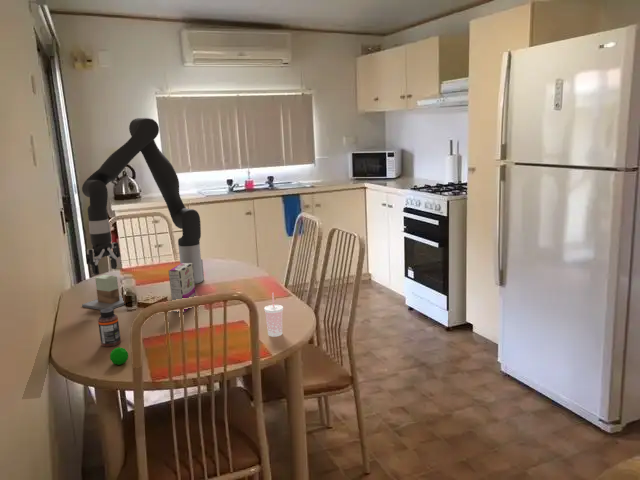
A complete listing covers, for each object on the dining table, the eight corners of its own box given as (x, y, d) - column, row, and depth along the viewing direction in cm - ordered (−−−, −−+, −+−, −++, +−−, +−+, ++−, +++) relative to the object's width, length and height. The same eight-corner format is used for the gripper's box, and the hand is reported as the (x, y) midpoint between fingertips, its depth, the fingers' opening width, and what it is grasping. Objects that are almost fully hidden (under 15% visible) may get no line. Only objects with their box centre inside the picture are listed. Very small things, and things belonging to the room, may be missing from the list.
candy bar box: (185, 303, 209) (181, 262, 206) (197, 303, 208) (193, 262, 205) (171, 312, 199) (167, 270, 195) (184, 313, 198) (180, 270, 194)
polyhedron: (115, 360, 158) (114, 344, 157) (131, 360, 157) (130, 344, 156) (107, 367, 153) (105, 351, 152) (124, 367, 152) (122, 351, 151)
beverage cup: (282, 337, 170) (279, 295, 167) (263, 337, 171) (260, 295, 168) (286, 330, 176) (284, 290, 173) (268, 330, 177) (266, 289, 174)
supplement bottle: (104, 340, 173) (100, 307, 171) (123, 339, 174) (119, 306, 171) (98, 348, 167) (94, 313, 165) (117, 346, 168) (113, 312, 166)
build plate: (110, 296, 222) (110, 294, 222) (135, 300, 215) (135, 298, 215) (82, 306, 210) (82, 304, 210) (107, 311, 203) (107, 308, 203)
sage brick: (105, 286, 215) (104, 274, 214) (118, 288, 212) (116, 276, 211) (96, 289, 211) (95, 277, 210) (109, 291, 208) (107, 279, 207)
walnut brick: (107, 298, 216) (105, 286, 215) (119, 300, 213) (118, 288, 212) (98, 301, 212) (96, 289, 211) (110, 303, 209) (109, 291, 208)
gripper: (91, 235, 199) (97, 277, 202) (121, 228, 211) (126, 267, 215) (77, 234, 202) (83, 275, 206) (108, 227, 215) (113, 266, 218)
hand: (105, 271), depth 210 cm, fingers open, 8 cm apart
